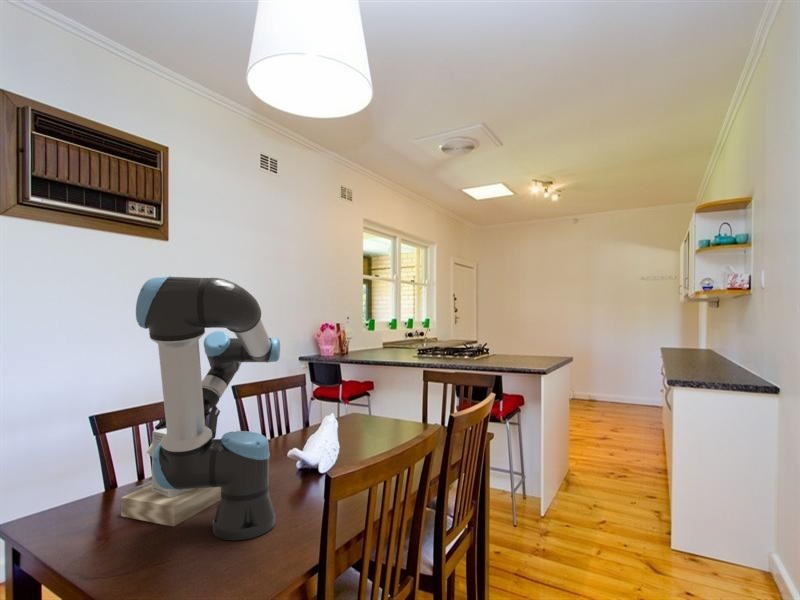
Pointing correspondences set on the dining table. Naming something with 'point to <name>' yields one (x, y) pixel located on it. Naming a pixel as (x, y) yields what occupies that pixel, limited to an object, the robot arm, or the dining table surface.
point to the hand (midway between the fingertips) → (168, 457)
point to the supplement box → (156, 439)
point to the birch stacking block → (167, 505)
